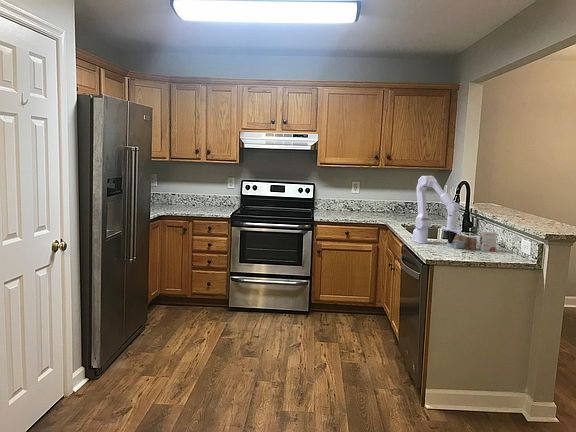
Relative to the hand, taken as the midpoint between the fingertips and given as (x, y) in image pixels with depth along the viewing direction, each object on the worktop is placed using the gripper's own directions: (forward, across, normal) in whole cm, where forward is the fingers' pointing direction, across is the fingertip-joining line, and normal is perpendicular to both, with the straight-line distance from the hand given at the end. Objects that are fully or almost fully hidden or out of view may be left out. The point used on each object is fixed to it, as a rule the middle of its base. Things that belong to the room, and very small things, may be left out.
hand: (450, 243), depth 299 cm
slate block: (+3, 0, +5) cm, 6 cm away
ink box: (+3, +14, +18) cm, 23 cm away
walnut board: (+3, 0, +10) cm, 11 cm away
